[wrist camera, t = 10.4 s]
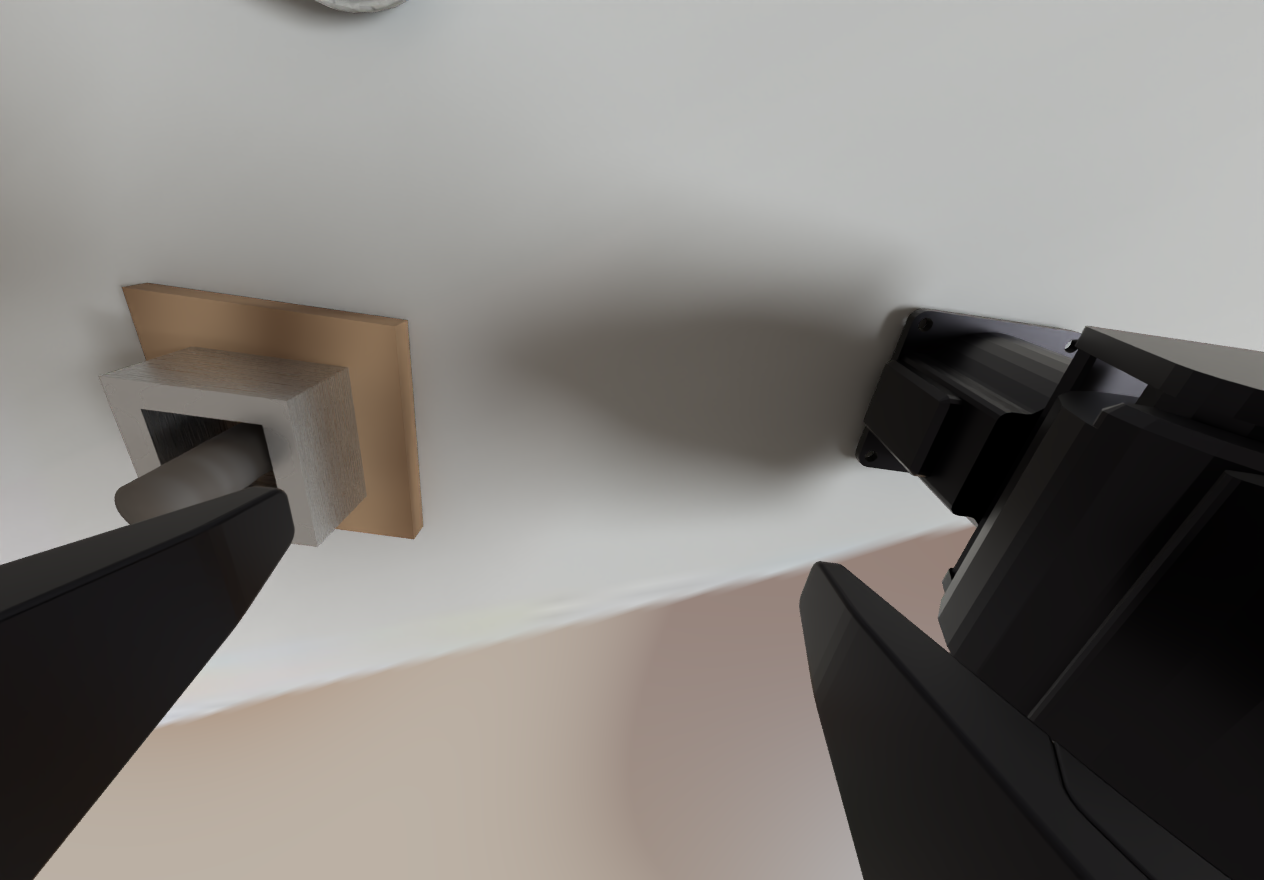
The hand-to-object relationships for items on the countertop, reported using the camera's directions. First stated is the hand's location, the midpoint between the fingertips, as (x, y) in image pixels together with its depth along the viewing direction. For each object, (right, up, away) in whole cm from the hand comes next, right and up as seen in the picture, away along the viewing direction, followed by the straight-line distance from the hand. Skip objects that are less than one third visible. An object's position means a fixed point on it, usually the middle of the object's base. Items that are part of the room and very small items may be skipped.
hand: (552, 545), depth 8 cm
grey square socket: (-13, +2, +12) cm, 18 cm away
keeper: (-13, +3, +13) cm, 18 cm away
